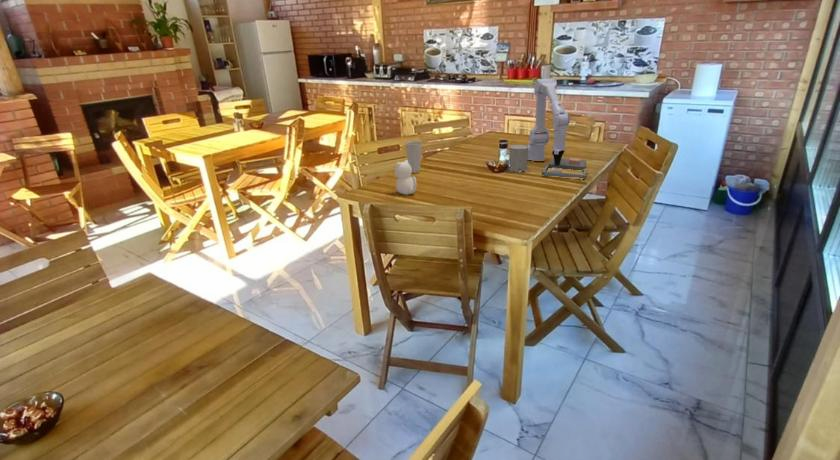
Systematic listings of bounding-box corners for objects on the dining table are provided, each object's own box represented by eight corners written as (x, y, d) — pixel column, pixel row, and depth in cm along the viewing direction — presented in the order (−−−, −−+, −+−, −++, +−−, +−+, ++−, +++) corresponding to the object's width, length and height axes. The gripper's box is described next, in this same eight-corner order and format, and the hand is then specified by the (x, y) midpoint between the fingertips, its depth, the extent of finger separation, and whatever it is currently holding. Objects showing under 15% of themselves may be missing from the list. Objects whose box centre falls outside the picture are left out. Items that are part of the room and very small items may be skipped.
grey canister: (506, 171, 235) (507, 148, 230) (511, 166, 243) (512, 144, 238) (524, 173, 231) (525, 149, 226) (529, 168, 238) (530, 145, 233)
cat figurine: (404, 188, 215) (402, 157, 209) (423, 193, 207) (422, 161, 201) (391, 193, 209) (388, 161, 203) (410, 198, 201) (408, 165, 195)
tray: (541, 176, 225) (542, 171, 224) (546, 169, 235) (546, 164, 234) (583, 180, 217) (584, 175, 216) (586, 173, 228) (587, 168, 227)
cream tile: (552, 167, 230) (552, 171, 231) (550, 170, 226) (550, 173, 227) (562, 168, 228) (562, 172, 229) (561, 170, 224) (560, 174, 225)
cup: (420, 174, 235) (419, 144, 229) (404, 173, 237) (403, 144, 230) (423, 169, 242) (423, 141, 236) (408, 169, 244) (407, 140, 238)
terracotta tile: (568, 163, 233) (569, 160, 232) (570, 161, 237) (570, 157, 236) (578, 164, 231) (579, 160, 230) (580, 162, 235) (580, 158, 234)
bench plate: (548, 169, 235) (548, 164, 234) (552, 162, 247) (553, 157, 245) (582, 172, 228) (583, 166, 227) (585, 165, 240) (586, 160, 239)
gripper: (565, 142, 217) (563, 169, 222) (569, 135, 229) (567, 162, 234) (550, 141, 219) (548, 168, 225) (555, 135, 231) (553, 160, 237)
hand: (557, 165), depth 230 cm, fingers closed
